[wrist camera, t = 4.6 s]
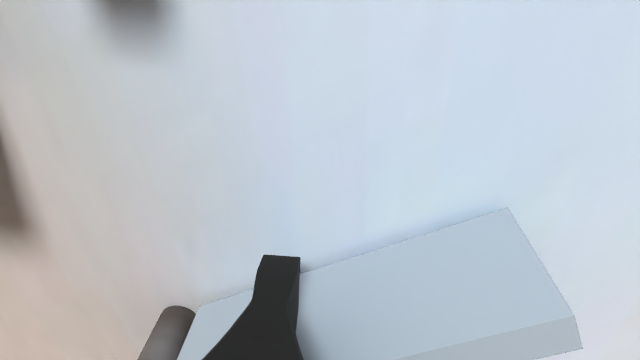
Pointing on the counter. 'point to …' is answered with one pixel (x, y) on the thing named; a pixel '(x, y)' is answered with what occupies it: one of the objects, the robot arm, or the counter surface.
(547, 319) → the door
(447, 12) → the counter surface
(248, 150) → the counter surface
